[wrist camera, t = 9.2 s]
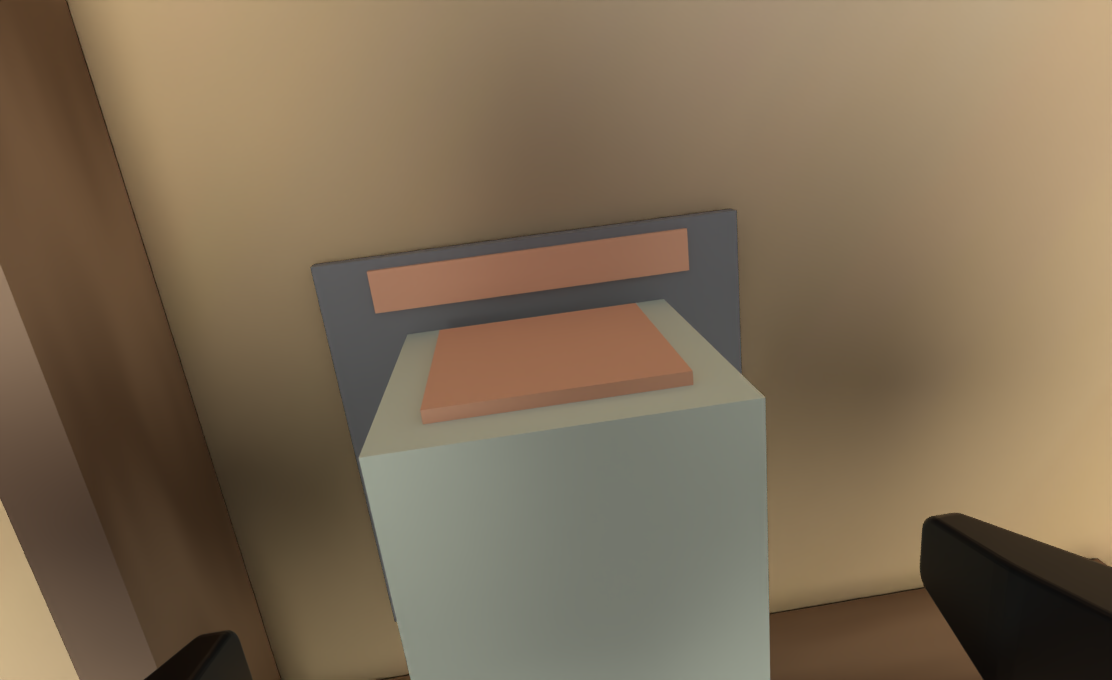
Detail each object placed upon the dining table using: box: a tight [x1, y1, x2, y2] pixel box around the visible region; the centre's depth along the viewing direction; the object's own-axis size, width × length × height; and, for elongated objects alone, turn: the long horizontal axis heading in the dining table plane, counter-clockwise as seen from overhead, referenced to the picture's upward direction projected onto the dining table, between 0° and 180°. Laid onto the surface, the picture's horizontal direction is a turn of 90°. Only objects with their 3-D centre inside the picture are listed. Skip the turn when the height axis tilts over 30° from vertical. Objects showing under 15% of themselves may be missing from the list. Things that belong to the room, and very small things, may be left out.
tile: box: [310, 209, 742, 622], centre depth 14 cm, size 8×8×1 cm
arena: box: [0, 0, 1106, 680], centre depth 12 cm, size 16×22×4 cm
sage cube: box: [359, 299, 770, 680], centre depth 11 cm, size 5×5×5 cm
